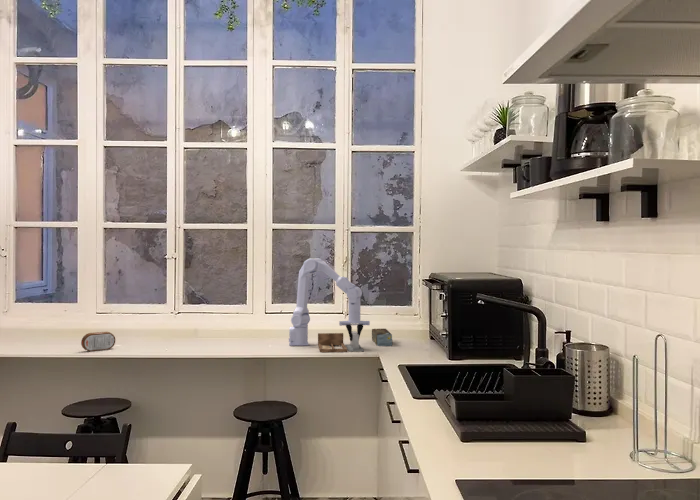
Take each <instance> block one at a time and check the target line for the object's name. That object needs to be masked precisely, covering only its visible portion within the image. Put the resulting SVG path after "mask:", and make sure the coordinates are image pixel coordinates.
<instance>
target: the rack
mask: <svg viewBox="0 0 700 500" xmlns="http://www.w3.org/2000/svg"><path fill="white" fill-rule="evenodd" d="M322 345H331V346H330V348H331V349H323V348H322ZM333 345H341V346H342V347H341V346H340V347H341V348H335V346H333ZM317 346H318V350H319V353H347V352H348V349H347V347H346V346H345V343H344V333H343V332H335V333H334V332H327V333H325V332H323V333H322V332H320V333H319V332H317Z"/></svg>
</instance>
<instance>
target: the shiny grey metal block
mask: <svg viewBox="0 0 700 500" xmlns="http://www.w3.org/2000/svg"><path fill="white" fill-rule="evenodd" d="M349 341H350V340H349ZM359 341H360V337H359V334H358V333H357V331H354V330H352V341H350V343H349V344H350V346H351V348H352V349H353V350H355V349H359V345H360V344H359V343H360V342H359Z"/></svg>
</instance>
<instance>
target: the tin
mask: <svg viewBox="0 0 700 500" xmlns="http://www.w3.org/2000/svg"><path fill="white" fill-rule="evenodd" d="M80 345H81V347H82V348H83V349H84V350H85V351H87V352H99V351H107V350H108V351H109V350H111V349H112V348H113V347H114V346H115V345H116V337H115V335H114V334H113V333H112V332H110V331H99V332H98V331H97V332H89V333H86V334H85V335H84V336H83V337H82V339H81V342H80Z"/></svg>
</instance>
